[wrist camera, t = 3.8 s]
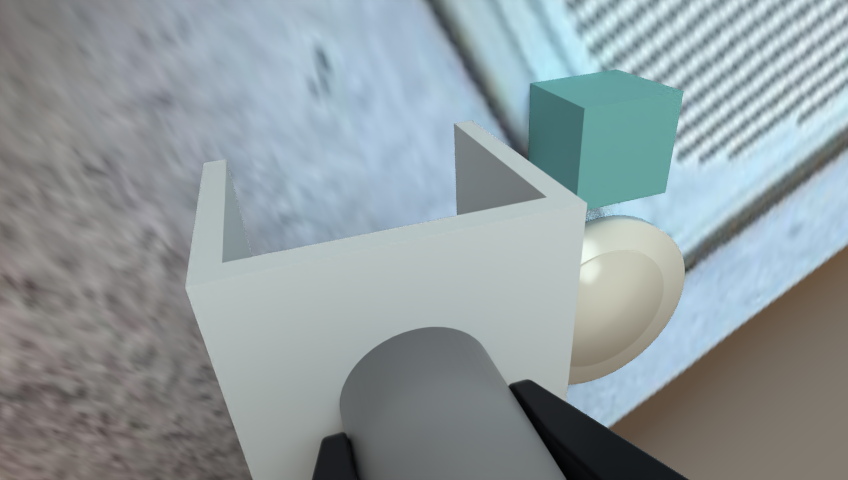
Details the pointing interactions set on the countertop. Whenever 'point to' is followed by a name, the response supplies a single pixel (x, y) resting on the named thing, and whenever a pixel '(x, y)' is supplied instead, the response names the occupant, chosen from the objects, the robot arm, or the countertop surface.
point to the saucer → (622, 293)
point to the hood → (397, 327)
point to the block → (604, 134)
